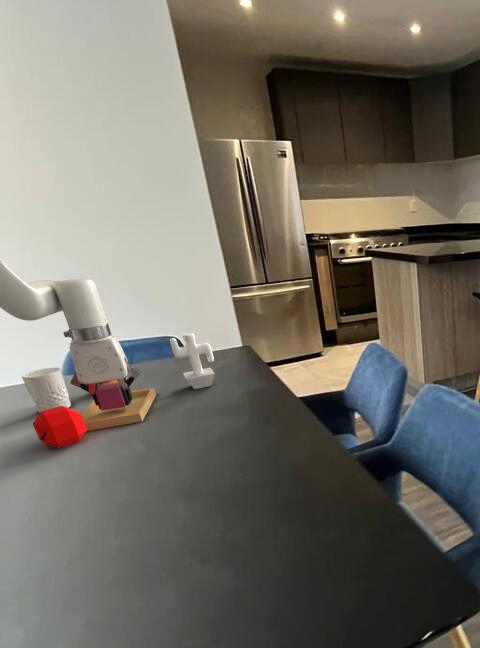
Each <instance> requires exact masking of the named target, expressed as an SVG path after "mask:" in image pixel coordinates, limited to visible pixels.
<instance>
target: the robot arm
mask: <svg viewBox="0 0 480 648" xmlns="http://www.w3.org/2000/svg"><path fill="white" fill-rule="evenodd" d="M0 309H2V311H4V312H6V313H7V314H8V315H11V316H12V317H14V318H16V319H19V320H21V321H29V322H30V321H32V322H33V321H37V320H41V319H43V318H46V317H48V316H51V315H54V314H57V313H60V312H63V315H64V318H65V321H66V323H67V326H68V330H66V331H63V336H64V337H65V338H70V339H71V340H74V341H73V342H71V341H70V342H69V347H70V349H71V350H70V349H69V350H70V355H71V360H72V364H73V367H74V370H75V373H74V375H73V376H72V378H71V379H70V384H71V385H73V386H75V387H77V388H80V389H81V390H83V391H85V392H87V393H89V395H91V396H92V398H93V400H94V401H95V404H96V406H99V409H101V407H100V404H99V401H98V398H97V396H96V393H95V391H96V390H97V389H98V383H100V382H107V381H113V380H116V382H117V383H119V384H120V385H121V387H122V394H123V398H124V401H125V404H126V405H129V404H130V403H131V400H133V397H132V394H131V392H132V390H131V385H132V384H133V383H134V381H135V380H136V379H138V377H139V376H140V375H141V374H142V371H141V370H140V369H139V368H137V367H136V366H134V365H132V364H131V363H130V362H129V361H128V359H127V356H126V354H125V352H124V349H123V347H122V346H121V344H120V341H119V340H118V338H117V337H116V335H112V331H111V329H110V324H109V322H108V319H107V315H106V312H105V310H104V307H103V303H102V300H101V297H100V295H99V290H98V288H97V286H96V283H95V282H94V281H93V280H92V279H89V278H71V279H64V280H50V279H49V280H47V279H46V280H45V279H41V280H34V281H30V282H25V281H24V280H23V279H22V278H20V277H19V276H18V275H17V274H16V273H15V272H13V270H11V269H10V268H9V267H8V266H7V264H6V263H4V261H3V260H2V258H1V257H0ZM129 373H131V374H130V375H129V377H128V378H127V376H128V374H129Z"/></svg>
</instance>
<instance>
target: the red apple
mask: <svg viewBox="0 0 480 648" xmlns="http://www.w3.org/2000/svg"><path fill="white" fill-rule="evenodd" d="M81 414H82V413H80V412H79V411H78V410H75V409H72V408H70V407H69V408H67V407H65V406H59V407H56V408H52V409H48V410H44V411H41V412H39V413H38V415H37V416H36V418H35V420H34V421H33V422H32V426H33V427H34V431H35V433H36V435H37V437H38V439H39V440H40V441H41V443H42V444H44V445H47V446H50V447H53V448H57V449H60V448H64V447H67V446H70V445H73V444H77V443H80V442H81V440H82V439H83V437H84V435H85V434H86V432H88V431H87V428H86V425H85V422H84V420H83V417H82V415H81Z"/></svg>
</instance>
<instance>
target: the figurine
mask: <svg viewBox="0 0 480 648" xmlns="http://www.w3.org/2000/svg"><path fill="white" fill-rule="evenodd" d="M182 339H183V341H184V343H185V346H181V347H180V346H179V344H178V341H177V339H176V338H175V337H171V338H170V339H169V344H170V348H171V351H172V354H173V356H174V357H175V358H176V359H182V358H188V359H189V361H190V362H189V363H190V365H191V369H192V370H191V371H187V372H182V375H183V376H184V379H185V380H186V381H187V382H188V384H189V385H190V386H191V387H192V388H193V389H194V390H198V389H202V388H207V387H212V385H213V381H214V378H215V372H214V370H213V369H212V368H211V367H206V368H203V366H202V362H201V358H200V355H204V354H205V355H206V359H207V361H208V362H209V363H213V362H214V361H215V358H214V354H213V350H212V346H211V344H210V343H208V342H203V343H198V344H197V343H196V336H195V333H194V332H191V331H190V332H184V333H183V334H182Z"/></svg>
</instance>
